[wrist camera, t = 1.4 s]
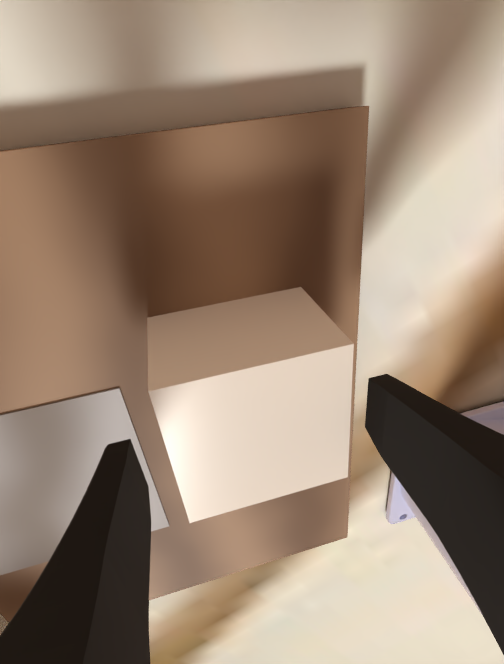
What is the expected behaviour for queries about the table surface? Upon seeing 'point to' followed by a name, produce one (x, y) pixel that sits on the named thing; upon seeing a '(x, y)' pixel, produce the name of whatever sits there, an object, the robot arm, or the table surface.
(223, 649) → the table surface
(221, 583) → the table surface
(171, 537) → the board
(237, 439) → the cream cube
